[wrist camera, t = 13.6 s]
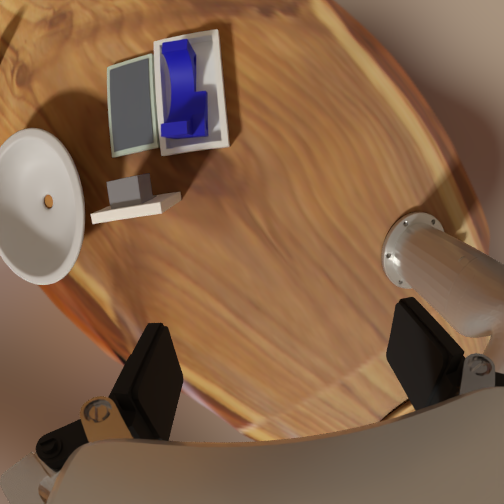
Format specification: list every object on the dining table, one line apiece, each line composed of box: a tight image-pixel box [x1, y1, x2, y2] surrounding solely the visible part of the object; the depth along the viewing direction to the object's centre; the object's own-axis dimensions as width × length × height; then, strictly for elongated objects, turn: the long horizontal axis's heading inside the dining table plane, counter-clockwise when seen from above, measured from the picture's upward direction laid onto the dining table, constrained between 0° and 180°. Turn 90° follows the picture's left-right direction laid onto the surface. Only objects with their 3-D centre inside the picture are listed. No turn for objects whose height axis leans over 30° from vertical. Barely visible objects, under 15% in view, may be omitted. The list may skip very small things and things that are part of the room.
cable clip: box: [161, 39, 208, 139], centre depth 29 cm, size 12×4×6 cm, turn 1°
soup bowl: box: [0, 128, 85, 285], centre depth 33 cm, size 24×24×7 cm
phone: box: [107, 54, 160, 158], centre depth 31 cm, size 7×14×1 cm, turn 5°
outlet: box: [91, 173, 181, 224], centre depth 32 cm, size 9×4×9 cm, turn 95°
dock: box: [154, 29, 230, 156], centre depth 31 cm, size 9×17×2 cm, turn 5°
